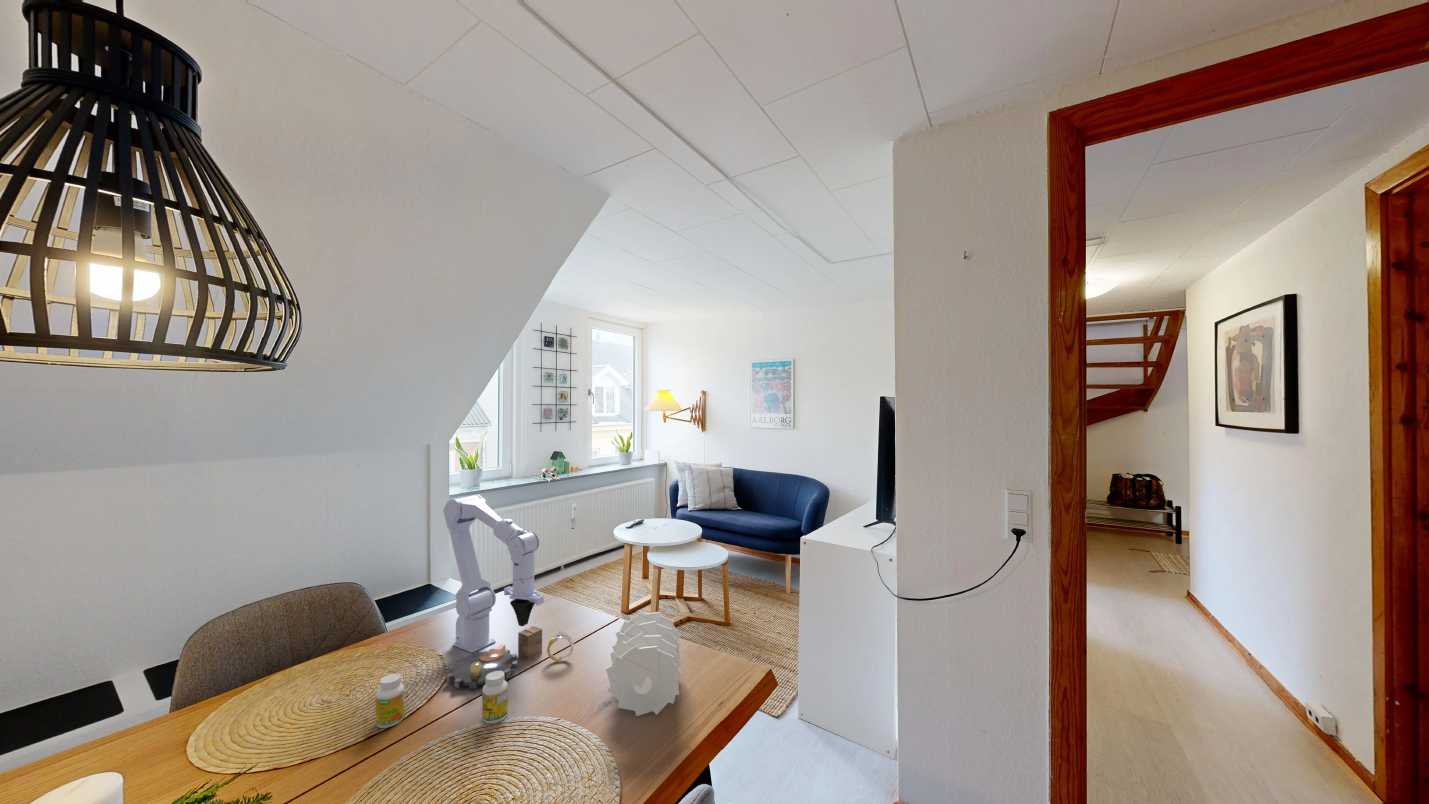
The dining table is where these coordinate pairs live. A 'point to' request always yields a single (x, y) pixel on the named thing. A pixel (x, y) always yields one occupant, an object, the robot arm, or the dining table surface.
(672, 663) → the white spiral plate stack
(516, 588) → the robot arm
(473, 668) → the sprocket
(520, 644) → the wooden block
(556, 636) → the ring
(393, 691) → the supplement bottle
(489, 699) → the supplement bottle
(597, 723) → the dining table surface
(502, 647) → the peach rectangular prism
